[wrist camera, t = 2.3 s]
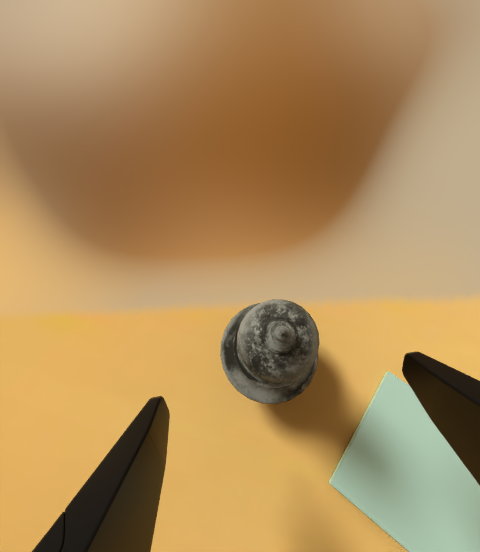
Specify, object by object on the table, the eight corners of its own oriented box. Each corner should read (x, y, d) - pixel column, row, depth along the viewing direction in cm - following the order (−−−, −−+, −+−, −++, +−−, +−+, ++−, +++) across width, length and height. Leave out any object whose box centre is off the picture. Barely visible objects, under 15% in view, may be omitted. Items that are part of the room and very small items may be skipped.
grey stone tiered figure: (323, 361, 17) (447, 355, 6) (259, 415, 16) (266, 526, 5) (272, 298, 19) (294, 206, 8) (211, 343, 18) (140, 311, 7)
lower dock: (510, 455, 15) (514, 456, 14) (461, 595, 13) (466, 600, 13) (386, 371, 17) (388, 371, 17) (328, 481, 15) (330, 484, 15)
